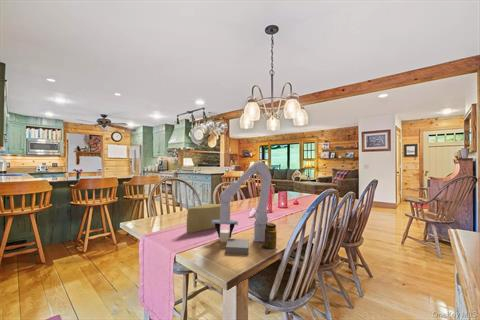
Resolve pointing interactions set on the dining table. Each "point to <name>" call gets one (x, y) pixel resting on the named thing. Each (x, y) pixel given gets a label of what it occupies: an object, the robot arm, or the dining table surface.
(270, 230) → the condiment
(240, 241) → the base
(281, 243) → the dining table surface
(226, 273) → the dining table surface
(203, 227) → the olive rectangular box
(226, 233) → the cube
